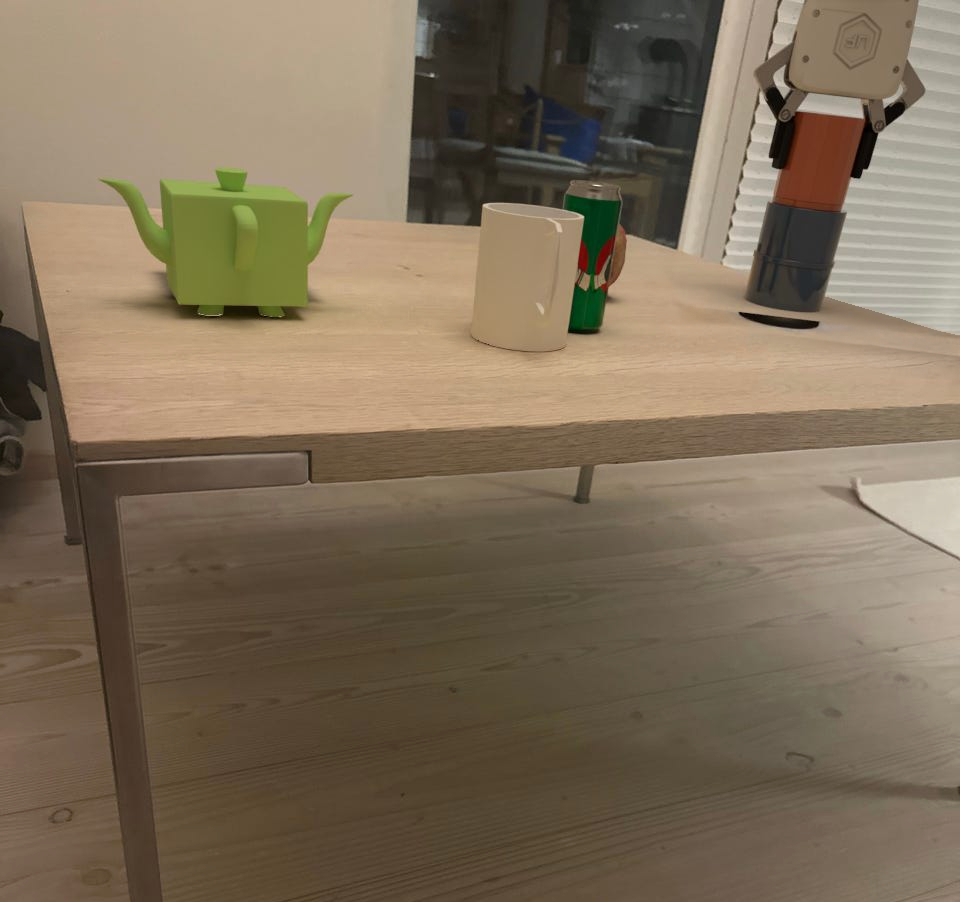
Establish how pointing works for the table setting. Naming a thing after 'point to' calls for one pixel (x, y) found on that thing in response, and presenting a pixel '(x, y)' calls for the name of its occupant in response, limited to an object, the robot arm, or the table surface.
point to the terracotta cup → (819, 161)
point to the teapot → (232, 240)
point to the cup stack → (793, 263)
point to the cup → (525, 276)
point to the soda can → (593, 250)
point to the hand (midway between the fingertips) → (815, 171)
